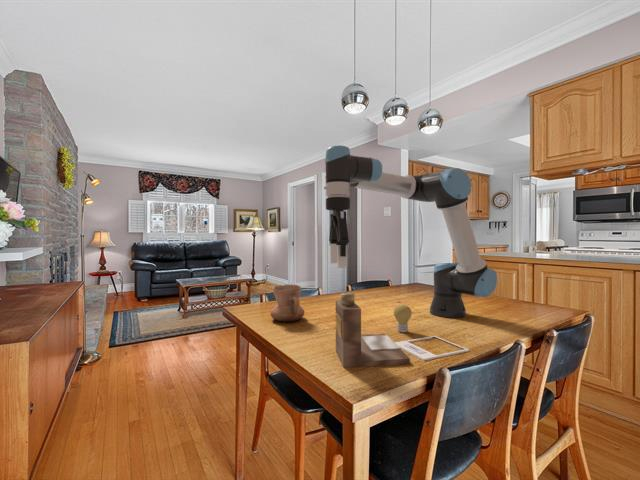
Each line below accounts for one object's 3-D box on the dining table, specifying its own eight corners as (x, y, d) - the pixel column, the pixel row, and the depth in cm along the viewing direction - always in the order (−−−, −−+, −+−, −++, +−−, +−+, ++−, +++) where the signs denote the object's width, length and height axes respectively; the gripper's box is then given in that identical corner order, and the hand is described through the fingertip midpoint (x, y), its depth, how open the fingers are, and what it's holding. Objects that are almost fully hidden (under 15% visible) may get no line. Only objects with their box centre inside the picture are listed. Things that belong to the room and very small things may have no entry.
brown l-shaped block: (384, 337, 110) (384, 283, 109) (409, 363, 88) (410, 296, 88) (330, 340, 107) (329, 285, 107) (342, 367, 86) (342, 298, 85)
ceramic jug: (264, 317, 138) (264, 285, 137) (294, 312, 145) (294, 282, 144) (280, 328, 122) (279, 292, 122) (312, 322, 129) (312, 288, 129)
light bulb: (415, 332, 116) (415, 305, 116) (403, 335, 112) (403, 307, 112) (401, 327, 121) (401, 302, 121) (390, 330, 118) (390, 304, 117)
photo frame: (392, 342, 103) (434, 335, 111) (392, 345, 103) (434, 338, 111) (423, 358, 90) (469, 349, 97) (423, 362, 90) (469, 352, 97)
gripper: (320, 201, 110) (321, 261, 110) (332, 192, 85) (332, 270, 85) (342, 201, 110) (342, 261, 111) (359, 192, 86) (359, 269, 86)
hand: (338, 265), depth 98 cm, fingers open, 13 cm apart
